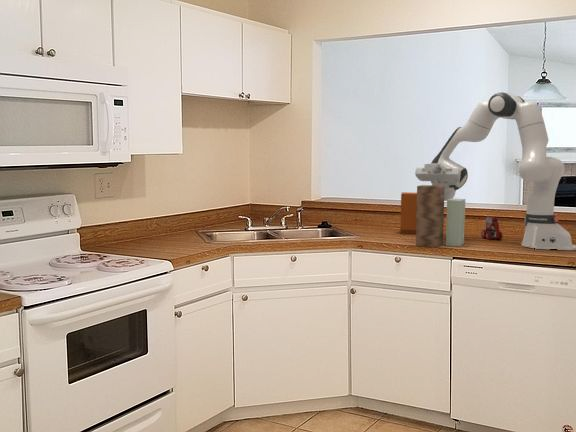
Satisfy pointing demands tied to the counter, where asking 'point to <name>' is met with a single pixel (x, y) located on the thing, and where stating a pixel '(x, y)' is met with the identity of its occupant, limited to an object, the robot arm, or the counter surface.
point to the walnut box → (430, 215)
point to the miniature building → (408, 213)
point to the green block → (455, 222)
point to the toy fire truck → (491, 229)
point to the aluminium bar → (432, 167)
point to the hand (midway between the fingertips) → (435, 165)
